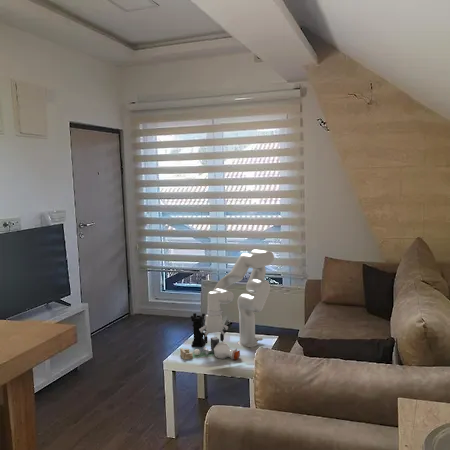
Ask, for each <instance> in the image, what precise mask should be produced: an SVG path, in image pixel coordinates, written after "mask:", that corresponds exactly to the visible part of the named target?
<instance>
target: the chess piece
mask: <svg viewBox="0 0 450 450" xmlns="http://www.w3.org/2000/svg"><path fill="white" fill-rule="evenodd" d="M205 317H206V313H202V314H201V315H199V314H198V315H197V312H195V313H193V314H192V315H190V319H191V322H192V327H193V340H192V342H191V344H190V345H191V347H193V348H203V347H205V345H206V343H205V342H204V335H203V334H202V333H201V332H200V330H199V329H200V328H202V327H203V326H204V325H205V322H204V321H205Z"/></svg>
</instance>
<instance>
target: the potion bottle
mask: <svg viewBox="0 0 450 450" xmlns="http://www.w3.org/2000/svg"><path fill="white" fill-rule="evenodd" d="M214 354H215V355H214V356H215V358H217V359H221V360H222V359H223V360H224V359H227V358H230V359H231V360H232V361H233V360H235V361H237V360H239V359H240V356H241V350H238V348H234V349H233V348H232V349H231V348H230V345H229V344H228V343H226V342H224V341H223V342H222V341H219V343H218V344H216V346H215V347H214Z"/></svg>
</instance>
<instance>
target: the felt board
mask: <svg viewBox="0 0 450 450" xmlns="http://www.w3.org/2000/svg"><path fill="white" fill-rule="evenodd" d="M192 353H193V358H192V359H198V358H199V359H200V358H203V357H204V358H205V357H206V358H207V357H211V356H215V354H213V353H208V354H207V355H205V354H204V352H203V351H200V354H199V355H195V354H194V352H192ZM179 356H180V357H181V358H182V356H181V355H179ZM185 360H187V359H185ZM185 360H184V361H185Z"/></svg>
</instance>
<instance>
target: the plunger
mask: <svg viewBox="0 0 450 450" xmlns="http://www.w3.org/2000/svg"><path fill="white" fill-rule="evenodd" d="M218 343H220V338H218V336H213V337H210V349H208V347H206V346H203V347H202V352H204V354H205V355H207V354H208V353H213V354H214V347H215V346H216V344H218Z"/></svg>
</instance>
